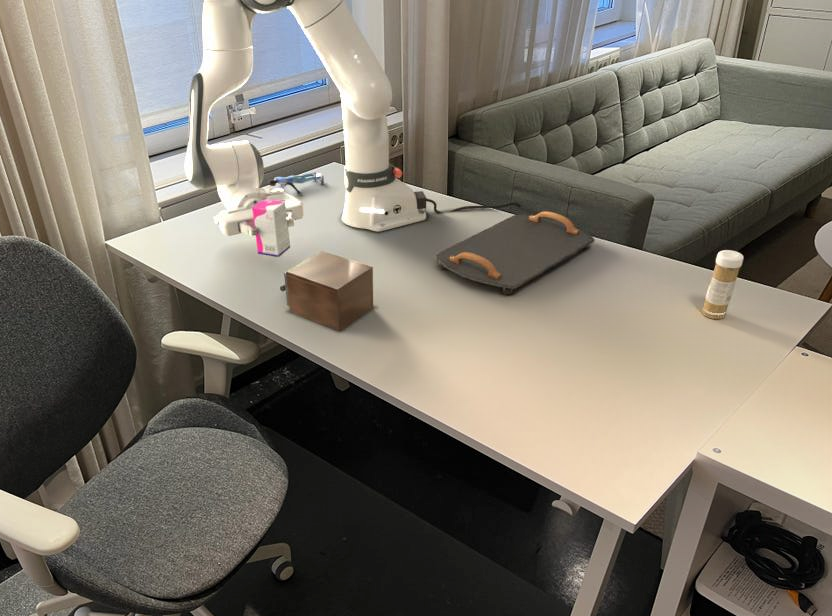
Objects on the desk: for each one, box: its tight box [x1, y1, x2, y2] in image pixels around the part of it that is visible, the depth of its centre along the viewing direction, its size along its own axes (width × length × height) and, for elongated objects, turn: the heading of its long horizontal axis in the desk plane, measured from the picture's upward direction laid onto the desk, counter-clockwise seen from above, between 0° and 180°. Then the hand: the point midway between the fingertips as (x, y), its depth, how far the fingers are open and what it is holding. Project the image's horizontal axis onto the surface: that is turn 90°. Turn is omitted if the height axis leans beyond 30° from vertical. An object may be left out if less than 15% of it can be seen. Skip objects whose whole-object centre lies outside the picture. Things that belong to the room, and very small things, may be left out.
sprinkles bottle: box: [701, 249, 745, 320], centre depth 140 cm, size 5×5×13 cm
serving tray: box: [434, 210, 596, 296], centre depth 165 cm, size 39×23×6 cm, turn 134°
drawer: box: [279, 271, 289, 307], centre depth 149 cm, size 16×10×8 cm, turn 52°
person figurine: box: [268, 172, 325, 196], centre depth 207 cm, size 11×4×18 cm
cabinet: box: [285, 250, 374, 332], centre depth 147 cm, size 14×12×10 cm
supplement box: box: [252, 199, 291, 258], centre depth 162 cm, size 6×6×12 cm
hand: (273, 227), depth 161 cm, fingers closed on supplement box, 8 cm apart
